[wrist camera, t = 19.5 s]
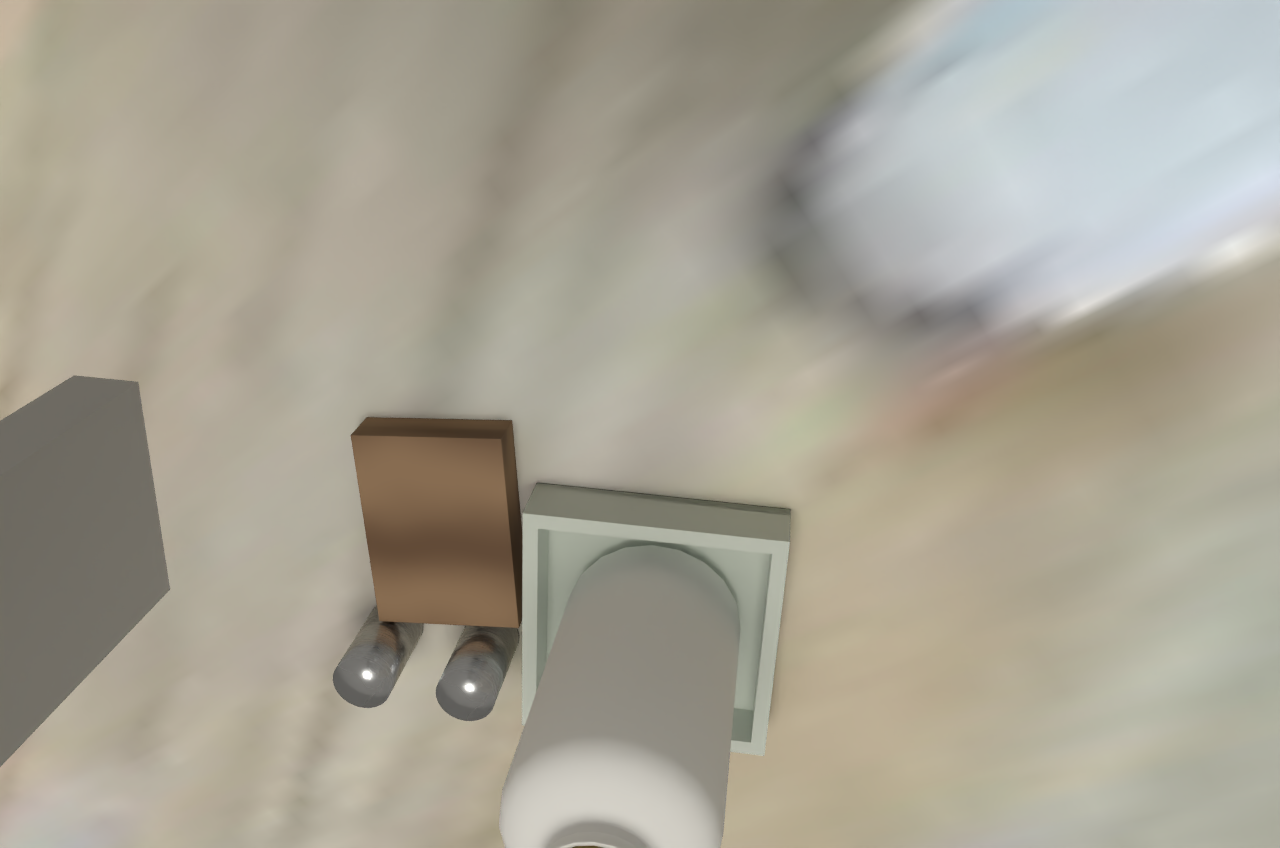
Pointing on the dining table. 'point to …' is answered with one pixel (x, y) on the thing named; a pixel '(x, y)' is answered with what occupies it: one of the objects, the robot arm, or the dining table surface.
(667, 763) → the potion bottle
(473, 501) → the tan wooden board
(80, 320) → the dining table surface
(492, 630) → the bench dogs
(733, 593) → the tray
